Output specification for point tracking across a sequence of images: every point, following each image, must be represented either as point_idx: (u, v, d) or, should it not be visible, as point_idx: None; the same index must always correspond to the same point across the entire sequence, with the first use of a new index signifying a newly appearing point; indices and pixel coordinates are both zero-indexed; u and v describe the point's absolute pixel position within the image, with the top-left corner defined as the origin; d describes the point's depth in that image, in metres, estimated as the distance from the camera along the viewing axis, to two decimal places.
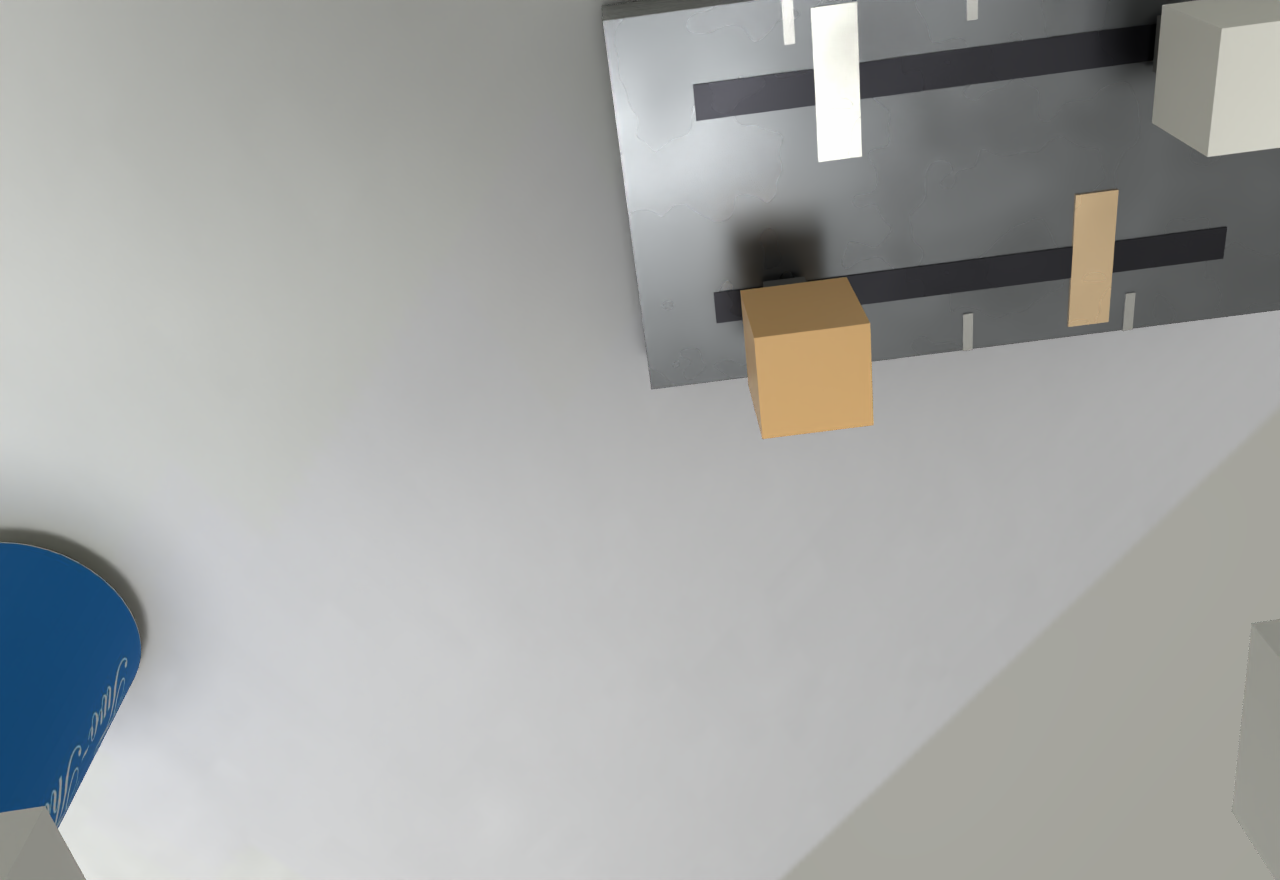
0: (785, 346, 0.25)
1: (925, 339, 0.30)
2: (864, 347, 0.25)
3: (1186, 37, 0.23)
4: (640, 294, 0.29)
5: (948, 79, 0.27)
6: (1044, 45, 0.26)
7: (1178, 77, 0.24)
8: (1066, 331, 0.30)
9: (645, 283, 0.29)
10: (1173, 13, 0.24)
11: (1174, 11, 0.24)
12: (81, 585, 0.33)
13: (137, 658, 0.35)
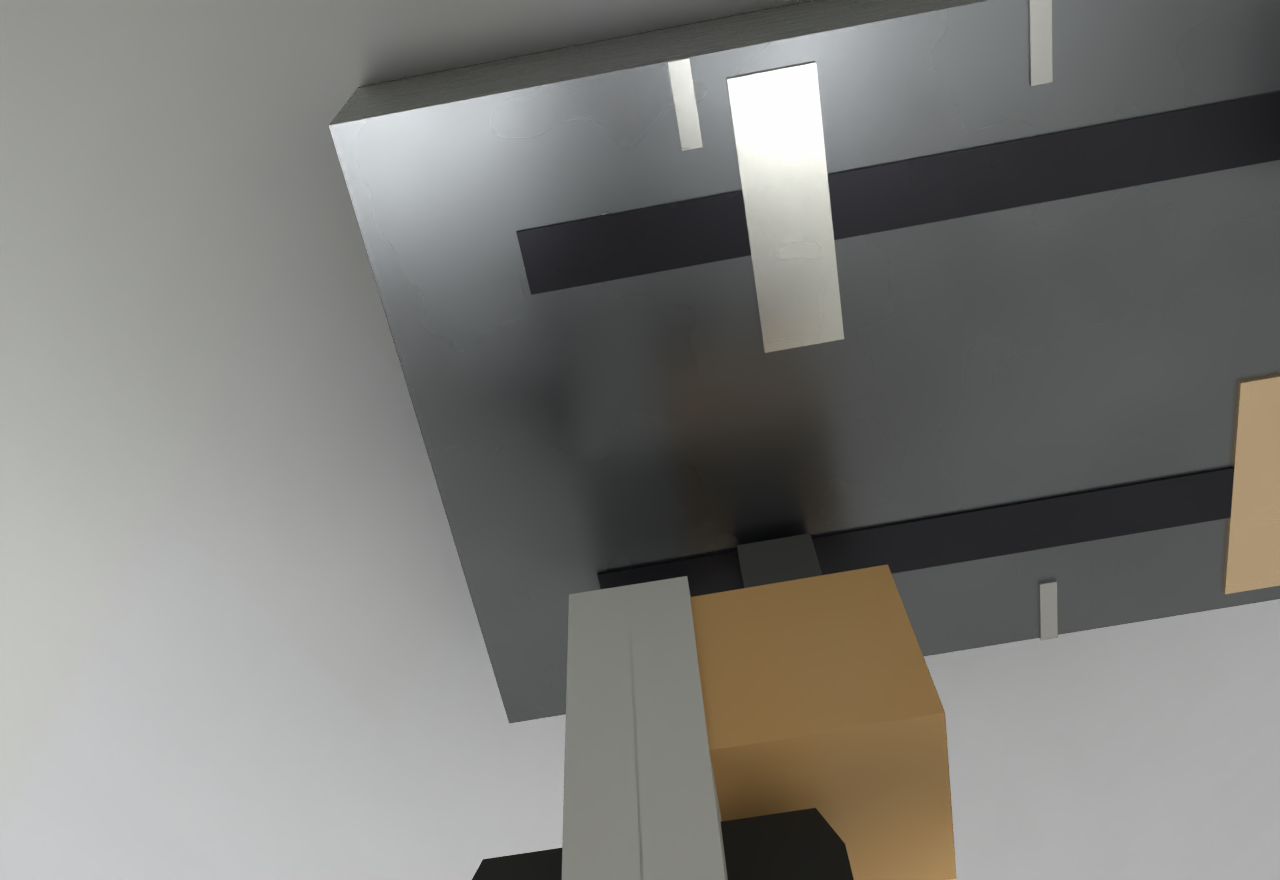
0: (774, 760, 0.12)
1: (974, 625, 0.17)
2: (934, 753, 0.12)
3: None
4: (469, 582, 0.16)
5: (999, 194, 0.14)
6: (1183, 123, 0.14)
7: None
8: (1221, 600, 0.17)
9: (476, 565, 0.16)
10: None
11: None
12: None
13: None
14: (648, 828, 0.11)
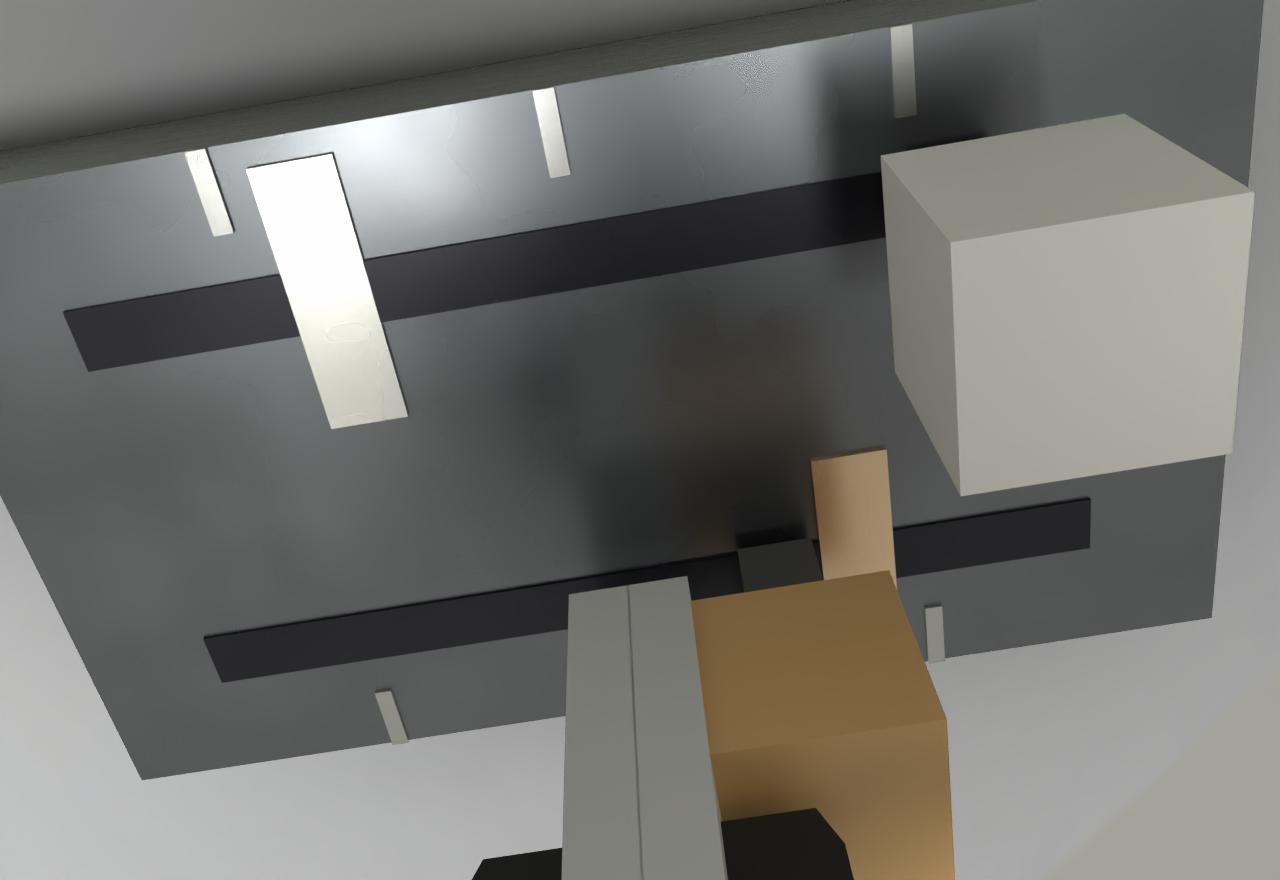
0: (775, 765, 0.12)
1: None
2: (935, 759, 0.12)
3: (911, 235, 0.11)
4: (77, 645, 0.17)
5: (540, 279, 0.14)
6: (708, 214, 0.14)
7: (911, 307, 0.11)
8: None
9: (81, 628, 0.17)
10: (893, 179, 0.11)
11: (894, 174, 0.11)
12: None
13: None
14: (648, 828, 0.11)
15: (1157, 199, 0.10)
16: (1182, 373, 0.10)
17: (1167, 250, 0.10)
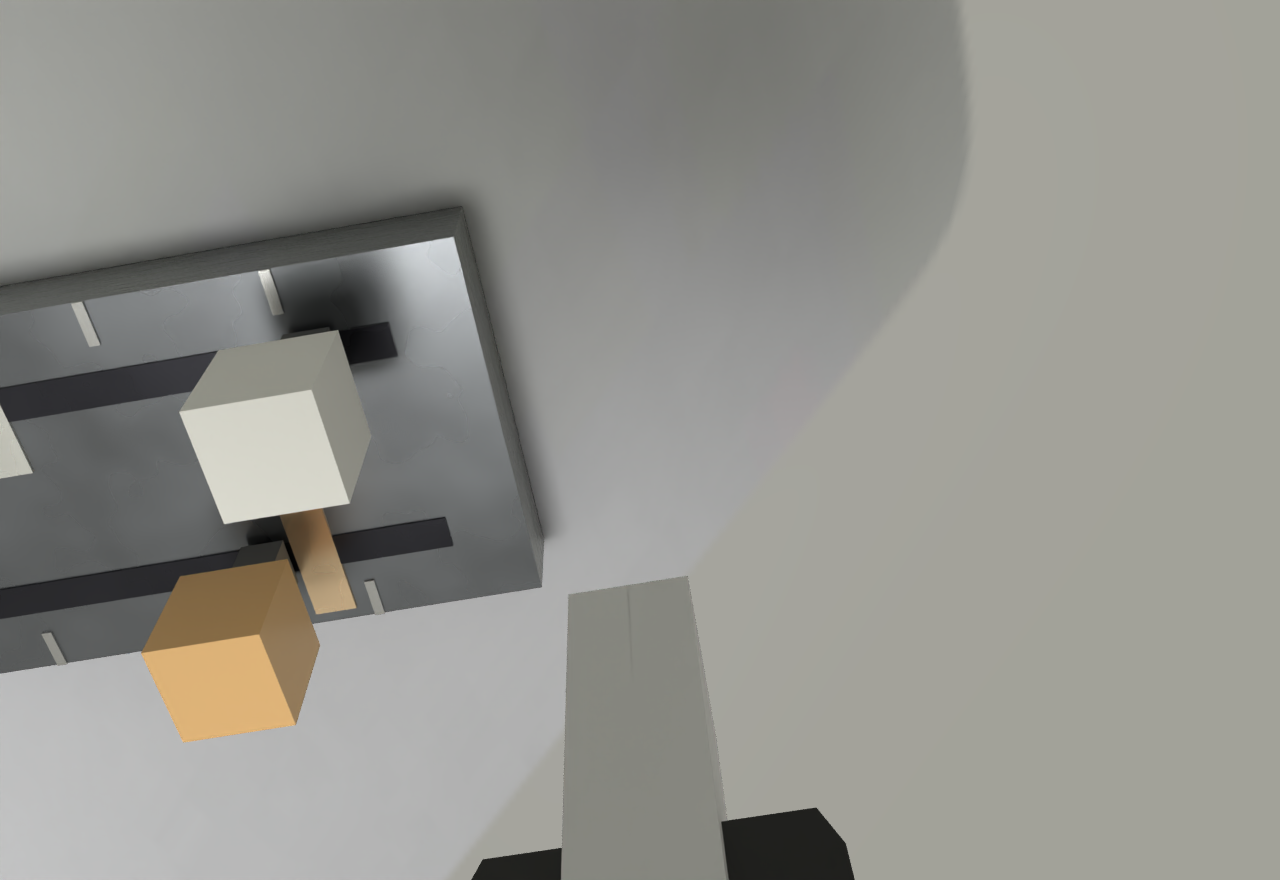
0: (177, 658, 0.24)
1: None
2: (261, 655, 0.24)
3: None
4: None
5: (96, 398, 0.26)
6: (181, 364, 0.26)
7: None
8: (317, 617, 0.29)
9: None
10: (212, 366, 0.23)
11: (211, 364, 0.23)
12: None
13: None
14: (647, 828, 0.11)
15: (275, 391, 0.21)
16: (310, 467, 0.22)
17: (281, 414, 0.21)
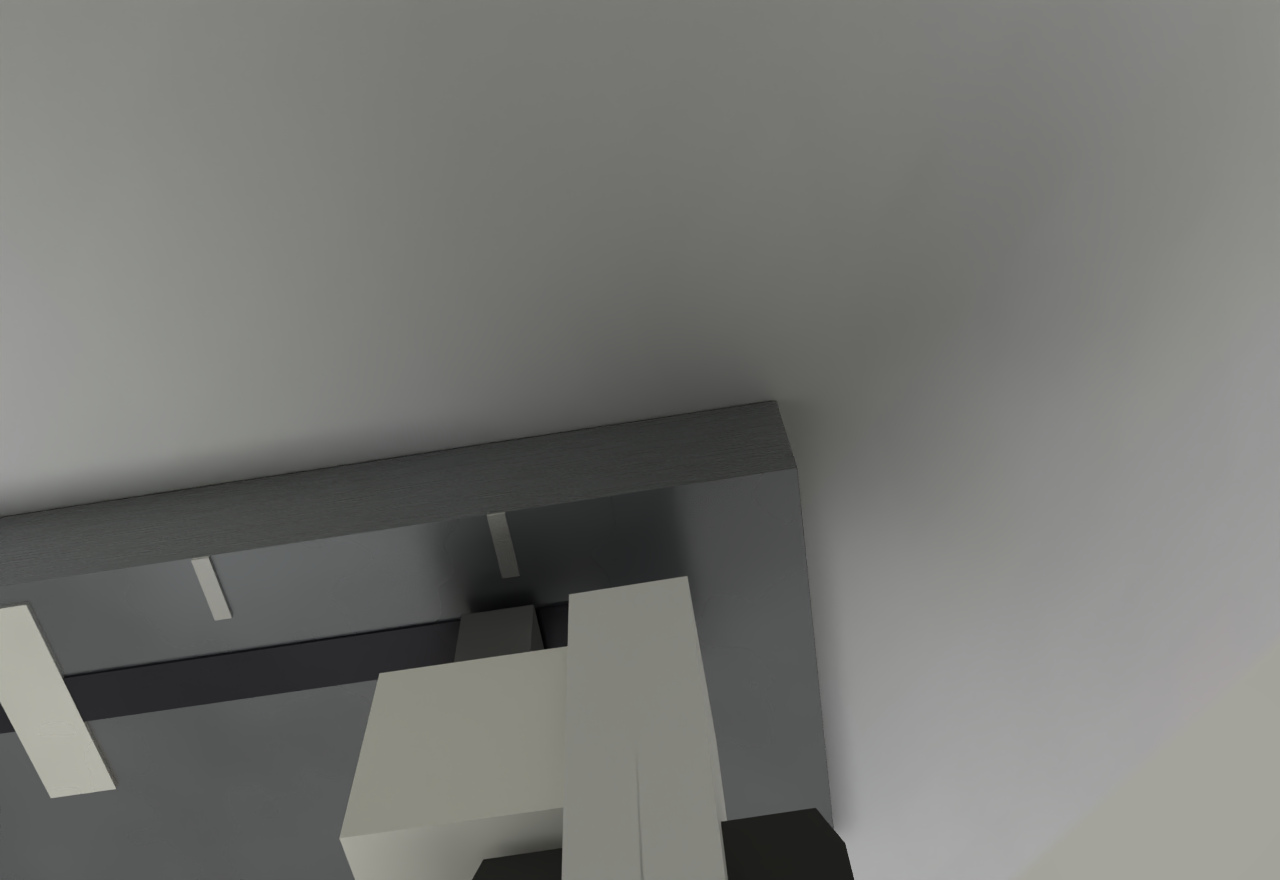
0: None
1: None
2: None
3: None
4: None
5: (219, 688, 0.17)
6: (353, 645, 0.17)
7: None
8: None
9: None
10: (373, 709, 0.14)
11: (372, 707, 0.14)
12: None
13: None
14: (648, 828, 0.11)
15: (506, 802, 0.12)
16: None
17: (514, 841, 0.12)
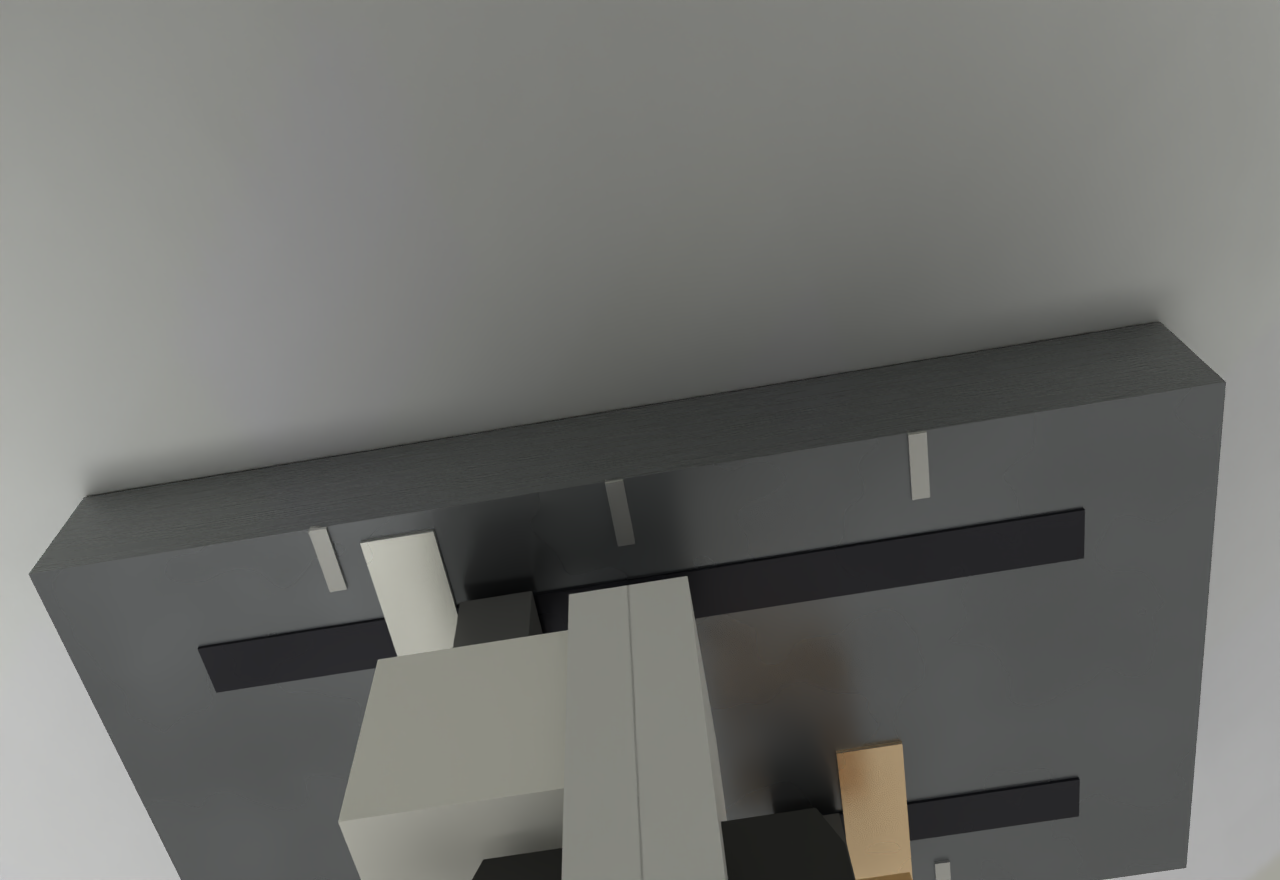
0: None
1: None
2: None
3: None
4: None
5: None
6: (751, 571, 0.16)
7: None
8: None
9: None
10: (372, 695, 0.14)
11: (371, 693, 0.14)
12: None
13: None
14: (648, 828, 0.11)
15: (503, 784, 0.12)
16: None
17: (512, 823, 0.12)
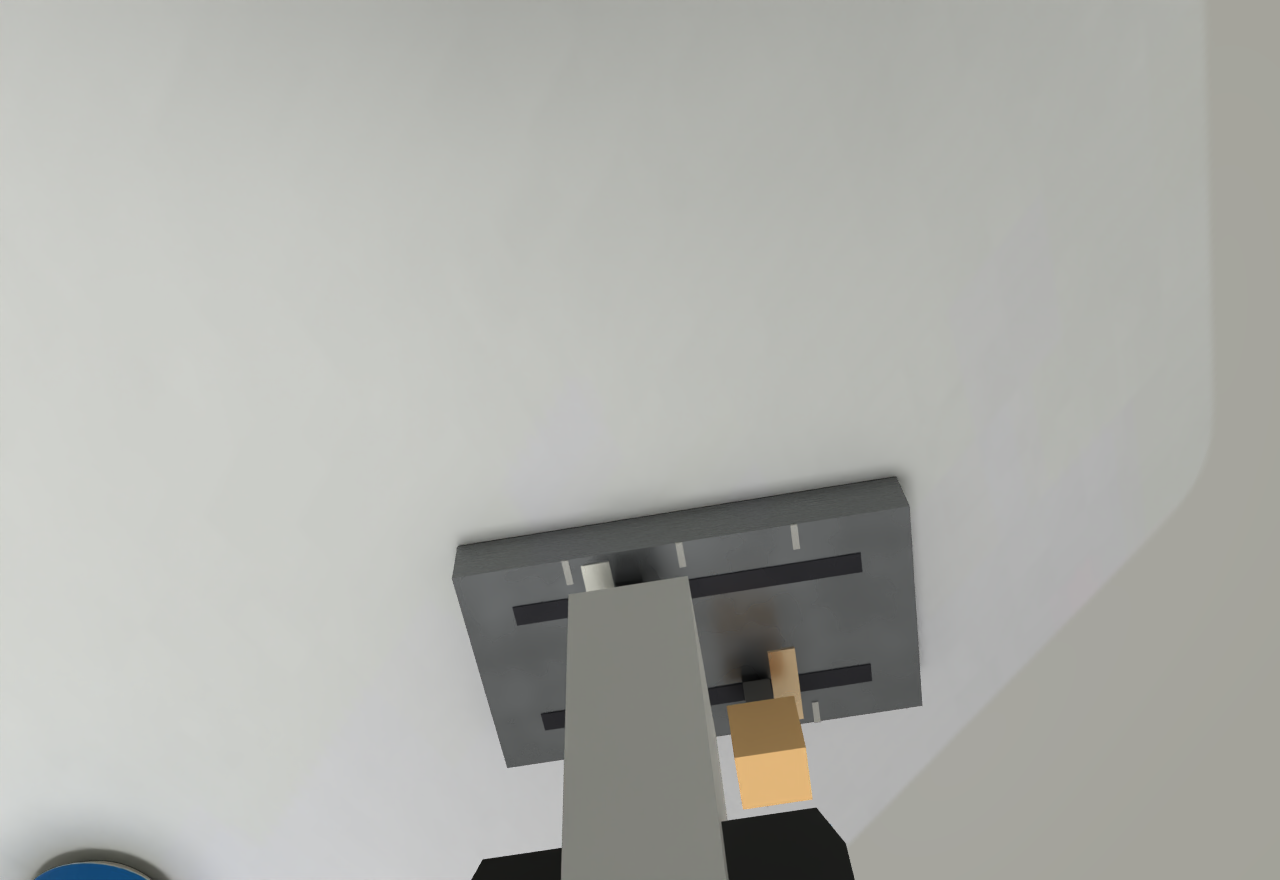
0: (754, 761, 0.40)
1: None
2: (803, 759, 0.40)
3: None
4: (493, 717, 0.44)
5: None
6: (731, 577, 0.42)
7: None
8: None
9: (496, 711, 0.44)
10: None
11: None
12: None
13: None
14: (647, 828, 0.11)
15: None
16: None
17: None
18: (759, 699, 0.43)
